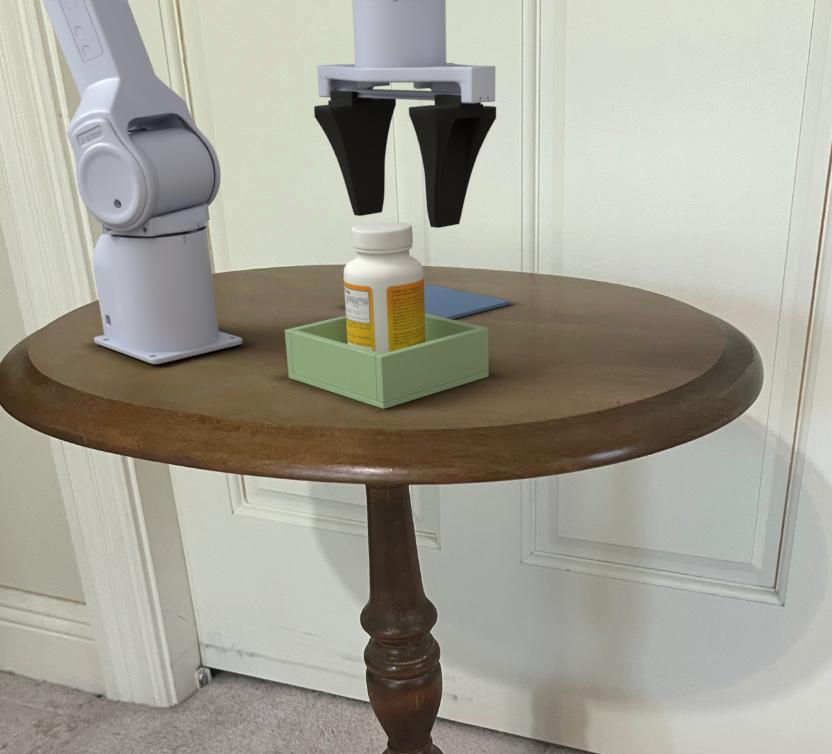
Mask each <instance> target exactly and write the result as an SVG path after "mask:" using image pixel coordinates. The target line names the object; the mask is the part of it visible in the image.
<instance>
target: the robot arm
mask: <svg viewBox="0 0 832 754" xmlns="http://www.w3.org/2000/svg"><path fill="white" fill-rule="evenodd" d="M41 1H42V4H43V6H44V9H45V11H46V14H47V17H48V19H49V22H50V24H51V27H52V29H53V31H54V35H55V36H56V39H57V41H58V44H59V46H60V49H61V52H62V54H63V56H64V59H65V61H66V65H67V66H68V69H69V71H70V74H71V77H72V79H73V81H74V85H75V87H76V89H77V91H78V94H79V96H80V101H79V104H78V106H77V109H76V111H75V113H74V114H73V116H72V119H71V120H70V122H69V124H68V126H67V130H66V136H67V138H68V140H69V143H70V146H71V148H72V151H73V156H74V161H75V172H76V173H75V174H76V175H75V177H76V183H77V189H78V192H79V195H80V198H81V200H82V202H83V205H84V206H85V208H86V210H87V211H88V213H89V214H90V215H91V216H92V217H93V218H94V220H95V221H97V222H98V223H99V224H100V228H101V235H100V236H99V237H98V239H97V240H96V244H95V246H94V249H93V254H92V267H93V273H94V279H95V286H96V292H97V298H98V304H99V310H100V317H101V323H102V328H103V334H102V335H98V336H97V335H96V336H95V337H93V340H94V343H95V344H96V345H99V346H101V347H105V348H106V349H109V350H113V351H115V352H118V353H121V354H124V355H126V356H129V357H132V358H135V359H137V360H140V361H143V362H145V363H148V364H151V365H161V364H165V363H169V362H174V361H178V360H182V359H187V358H191V357H195V356H199V355H203V354H207V353H211V352H215V351H219V350H224V349H228V348H232V347H238V346H240V345H243V338H242V337H240V336H237V335H234V334H230V333H227V332H223V331H220V329H219V320H218V313H217V303H216V295H215V285H214V277H213V268H212V259H211V251H210V250H211V249H210V241H209V233H208V226H207V224H208V223H207V222H208V221H210V220H211V219H210V210H209V209H210V208H209V206H211V204H212V203H213V202H214V201H215V199H216V198H217V197H216V196H218V193H219V190H220V186H221V174H222V172H221V165H220V161H219V157H218V154H217V152H216V150H215V148H214V146H213V145H212V143H211V141H210V140H209V139H208V137H207V136H205V134H204V133H203V132H202V131H201V130H200V128H198V126H197V125H196V123H195V121H194V119H193V117H192V115H191V112H190V110H189V107H188V105H187V104H188V103H187V102H186V101H185V100H184V99H183V98H182V97H181V96H180V95H179V94H178V93H176V92H175V91H174V90H173V89H171V88H170V87H169V85H167V84H166V83H164V81H162V80H161V79H160V77H158V75H156V73H155V69H154V67H153V65H152V62H151V60H150V56H149V54H148V51H147V48H146V46H145V43H144V40H143V38H142V35H141V32H140V29H139V27H138V24H137V21H136V19H135V17H134V16H135V15H134V14H133V11H132V8H131V6H130V3H129V0H41ZM351 5H352V7H351V8H352V24H353V25H352V26H353V27H352V28H353V44H354V45H353V47H354V63H337V64H335V63H334V64H319V65H317V66H316V69H317V72H316V73H317V84H318V85H317V87H318V97H319V98H330V99H328V101H327V104H321V105H320V104H319V105H315V106H314V107H313V112H314V114H313V116H314V118H315V120H316V121H317V123H318V124H319V126H320V128H321V129H322V131H323V133H324V134H325V136H326V139H327V140H328V142H329V144H330V146H331V148H332V150H333V153H334V155H335V159H336V160H337V163H338V165H339V169H340V172H341V175H342V178H343V181H344V185H345V188H346V192H347V195H348V199H349V202H350V206H351V209H352V213H353V215H354V216H357V217H363V216H368V215H374V214H380V213H381V214H382V213H383V209H384V204H385V203H384V202H385V193H386V192H385V188H386V186H385V185H386V181H385V180H386V176H385V175H386V170H385V169H386V153H387V144H388V140H389V139H388V137H389V132H390V128H391V124H392V120H393V116H394V112H395V108H396V106H397V100H409V101H410V100H412V101H434V104H428V105H416V106H409V107H408V116H409V119H410V121H411V124H412V126H413V129H414V133H415V135H416V139H417V142H418V146H419V151H420V155H421V160H422V166H423V167H422V168H423V171H424V172H423V173H424V186H425V200H426V211H427V212H426V213H427V216H428V221H429V226H430V228H435V229H437V228H438V229H441V228H446V227H450V226H456V225H460V223H461V218H462V214H463V210H464V204H465V202H466V201H465V200H466V196H467V191H468V188H469V184H470V180H471V177H472V173H473V170H474V167H475V165H476V161H477V158H478V156H479V153H480V151H481V148H482V146H483V145H484V142H485V139H486V137H487V135H488V134H489V132H490V130H491V128H492V127H493V124H494V123H495V121H496V119H497V106H494V105H484V104H483V103H493V102H494V103H495V101H496V66H495V65H474V64H457V63H455V62H447V7H446V5H447V2H446V0H351ZM393 83H394V84H396V83H402V84H403V83H412V85H413V87H412V88H413V89H414V90H413V89H389V88H388V89H386V88H376V87H390V85H391V84H393ZM427 89H430V90H427Z"/></svg>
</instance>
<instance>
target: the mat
mask: <svg viewBox="0 0 832 754" xmlns="http://www.w3.org/2000/svg"><path fill="white" fill-rule="evenodd" d="M424 297H425V298H424V299H425V313H426V314H430V315H434V316H439V317H443V318H447V319H452V320H456V319H458V318H463V317H466V316H470V315H473V314H474V315H475V314H478V313H481V312H485V311H489V310H494V309H497V308H501V307H505V306H509V305H510V300H507V299H501V298H498V297H497V298H496V297H492V296H488V295H487V296H486V295H481V294H477V293H473V292H467V291H463V290H457V289H452V288H449V287H442V286H438V285H433V284H429V285H424Z"/></svg>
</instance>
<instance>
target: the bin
mask: <svg viewBox="0 0 832 754" xmlns="http://www.w3.org/2000/svg"><path fill="white" fill-rule="evenodd" d="M489 334H490V329H489V327H486V326H482V325H478V324H473V323H469V322H465V321H461V320H457V319H447V318H443V317H439V316H434V315H430V314H426V313H425V338H426V342H424V343H421V344H417V345H413V346H409V347H406V348H402V349H398V350H395V351H391V352H387V353H383V354H381V353H377V352H374V351H370V350H367V349H363V348H359V347H356V346H352V345H349V344H348V342H347V325H346V315H342V316H338V317H332V318H329V319H326V320H320V321H316V322H313V323H309V324H304V325H300V326H295V327H291V328H287V329H284V336H285V337H284V339H285V351H286V361H287V362H286V363H287V373H288V378H289V379H291V380H293V381H296V382H300V383H303V384H306V385H309V386H312V387H316V388H319V389H322V390H323V391H324V390H325V391H328V392H330V393H333V394H336V395H340V396H343V397H346V398H349V399H351V400H355V401H358V402H361V403H364V404H367V405H370V406H374V407H376V408H379V409H383V410H385V409H388V408H392V407H395V406H398V405H401V404H404V403H409V402H410V401H414V400H417V399H420V398H424V397H427V396H430V395H434V394H437V393H440V392H444V391H446V390H450V389H453V388H456V387H459V386H462V385H465V384H470V383H472V382H476V381H479V380H482V379H485V378H488V377H489V376H490V375H489V373H490V372H489V369H490V367H489V365H490V363H489V360H490V359H489V356H490V355H489V354H490V353H489V352H490V351H489V350H490V346H489V345H490V343H489V342H490V340H489V338H490V337H489V336H490V335H489Z"/></svg>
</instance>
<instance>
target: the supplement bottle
mask: <svg viewBox="0 0 832 754" xmlns="http://www.w3.org/2000/svg"><path fill="white" fill-rule="evenodd" d="M413 243H414V238H413V226H412V225H411V223H407V222H400V221H376V222H366V223H360V224H356V225H353V226H352V227H351V246H352V250H353V251H354V252H355V254H356V255H355V258H353V259H351V260H349V261H348V262H347V263H346V264H345V266H344V268H343V290H344V306H345V307H344V308H345V316H346V325H347V342H348V344H349V345H352V346H356V347H359V348H363V349H367V350H370V351H374V352H377V353H381V354H383V353H387V352H391V351H395V350H398V349H402V348H406V347H409V346H413V345H417V344H421V343H424V342H426V338H425V299H424V298H425V297H424V286H425V273H424V267H423V265H422V263H421V262H420V261H419V260H418V259H417V258H415V257H413V256H411V255H410V250H411V249H413Z"/></svg>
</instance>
